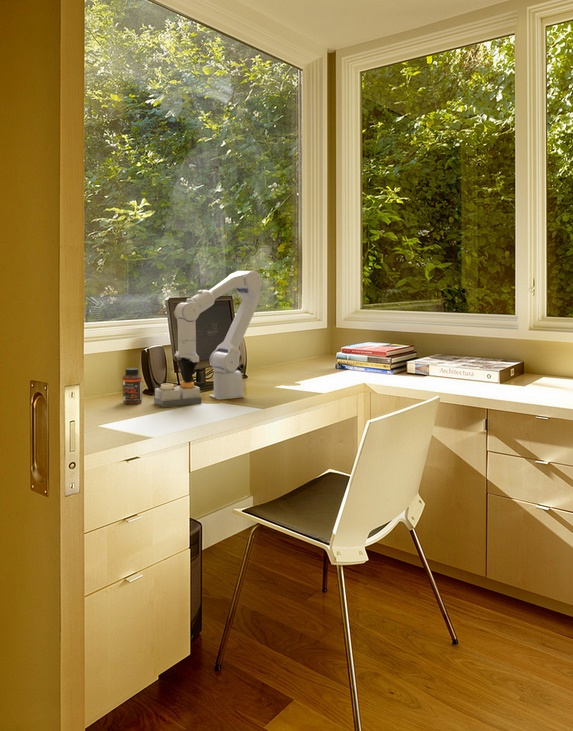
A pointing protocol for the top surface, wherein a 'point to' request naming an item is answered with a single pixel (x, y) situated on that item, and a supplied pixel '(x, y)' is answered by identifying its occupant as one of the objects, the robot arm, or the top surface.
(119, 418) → the top surface
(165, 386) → the cream knob
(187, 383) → the orange knob
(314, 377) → the top surface
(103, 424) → the top surface
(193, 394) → the knob mount
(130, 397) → the supplement bottle
